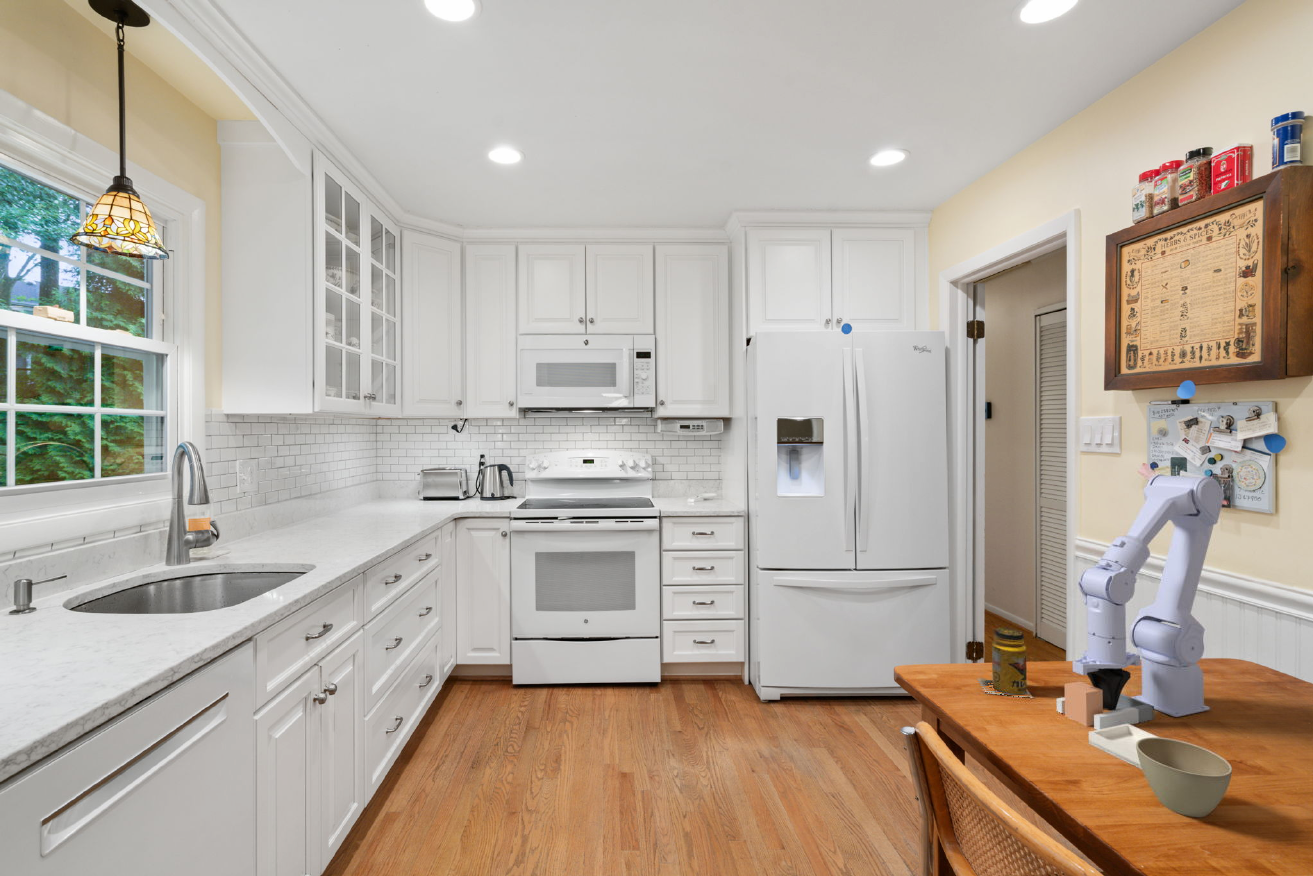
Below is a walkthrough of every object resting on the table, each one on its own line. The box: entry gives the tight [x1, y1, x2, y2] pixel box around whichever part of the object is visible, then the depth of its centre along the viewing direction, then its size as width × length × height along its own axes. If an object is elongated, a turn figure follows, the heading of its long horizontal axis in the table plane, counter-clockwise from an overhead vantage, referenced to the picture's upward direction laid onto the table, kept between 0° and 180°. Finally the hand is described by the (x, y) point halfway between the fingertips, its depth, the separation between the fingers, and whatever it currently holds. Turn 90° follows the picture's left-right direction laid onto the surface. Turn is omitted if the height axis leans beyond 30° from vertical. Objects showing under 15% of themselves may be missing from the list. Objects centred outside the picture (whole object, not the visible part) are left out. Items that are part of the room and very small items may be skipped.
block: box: [1064, 680, 1104, 727], centre depth 108 cm, size 4×4×6 cm
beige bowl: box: [1136, 736, 1233, 818], centre depth 83 cm, size 10×10×7 cm
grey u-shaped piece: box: [1110, 693, 1155, 723], centre depth 111 cm, size 4×8×2 cm, turn 17°
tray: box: [1088, 724, 1161, 770], centre depth 97 cm, size 9×9×2 cm
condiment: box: [977, 627, 1034, 699], centre depth 122 cm, size 7×8×12 cm
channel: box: [1056, 696, 1139, 730], centre depth 109 cm, size 10×8×2 cm
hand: (1107, 707), depth 110 cm, fingers closed
